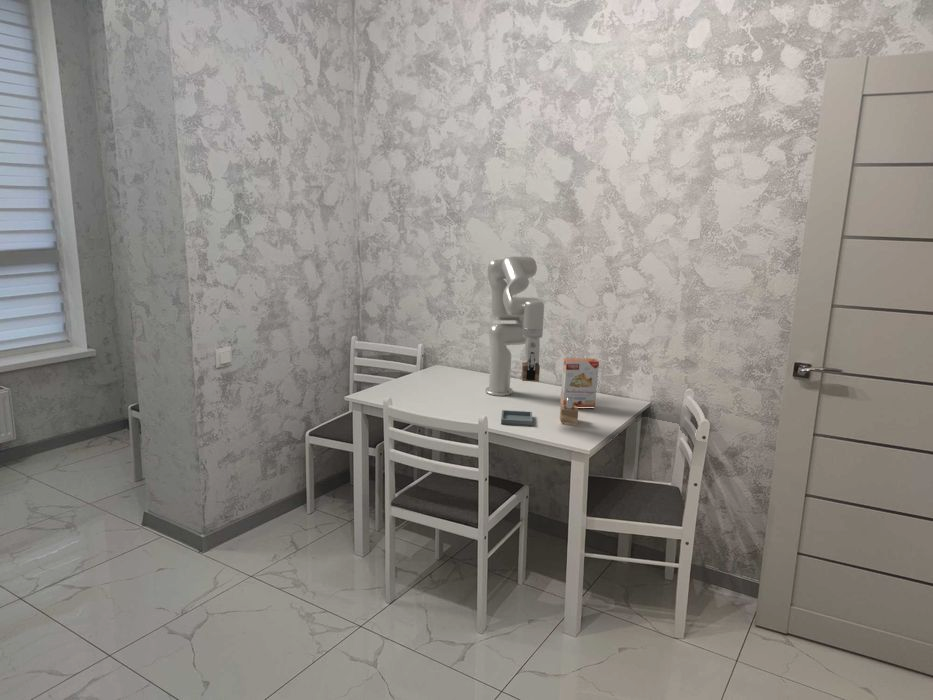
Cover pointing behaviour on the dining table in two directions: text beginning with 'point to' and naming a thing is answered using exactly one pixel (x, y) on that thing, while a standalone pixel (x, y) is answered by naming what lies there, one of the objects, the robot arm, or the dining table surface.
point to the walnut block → (525, 368)
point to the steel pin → (569, 403)
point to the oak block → (568, 415)
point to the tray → (516, 418)
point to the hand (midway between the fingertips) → (530, 377)
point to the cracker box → (579, 381)
